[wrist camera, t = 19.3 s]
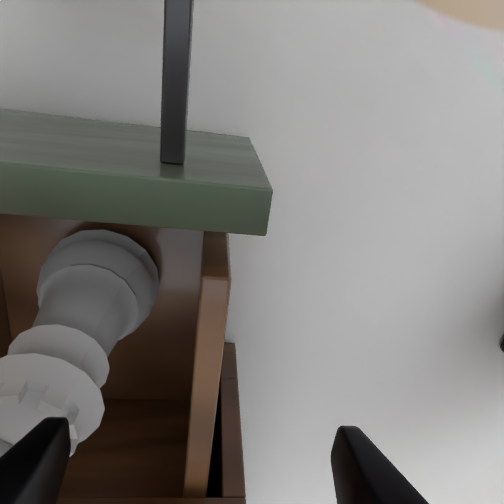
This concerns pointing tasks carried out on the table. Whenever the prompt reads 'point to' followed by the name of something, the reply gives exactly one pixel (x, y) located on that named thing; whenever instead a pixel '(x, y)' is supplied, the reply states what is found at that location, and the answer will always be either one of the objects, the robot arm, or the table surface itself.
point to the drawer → (160, 251)
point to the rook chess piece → (75, 333)
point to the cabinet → (222, 455)
